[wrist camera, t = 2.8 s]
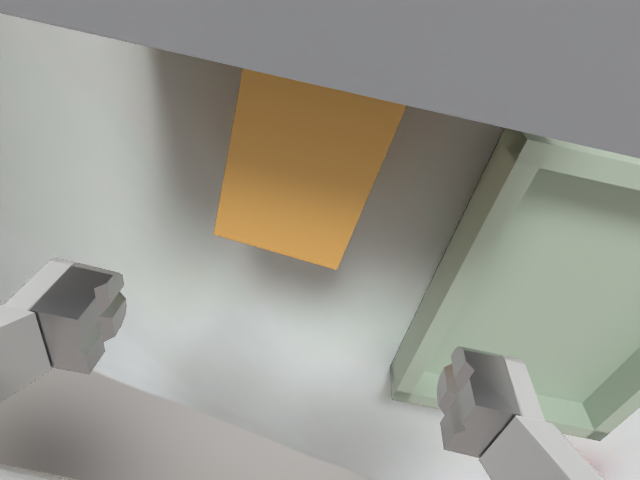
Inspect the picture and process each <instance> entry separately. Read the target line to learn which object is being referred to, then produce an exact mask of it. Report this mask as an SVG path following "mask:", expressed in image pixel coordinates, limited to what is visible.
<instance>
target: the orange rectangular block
mask: <svg viewBox="0 0 640 480" xmlns="http://www.w3.org/2000/svg"><path fill="white" fill-rule="evenodd" d="M406 107H407V105H402V104H398V103H393V102H389V101H385V100H380V99H376V98H371V97H367V96H363V95H358V94H354V93H349V92H345V91H341V90H336V89H332V88H328V87H323V86H319V85H314V84H310V83H306V82H301V81H297V80H292V79H288V78H284V77H279V76H275V75H270V74H266V73H262V72H257V71H253V70H248V69H244V68H243V70H242V75H241V81H240V87H239V93H238V98H237V104H236V110H235V115H234V121H233V127H232V132H231V138H230V144H229V149H228V155H227V161H226V167H225V172H224V178H223V184H222V189H221V195H220V201H219V206H218V212H217V218H216V224H215V229H214V235H217V236H220V237H224V238H227V239H231V240H234V241H238V242H241V243H245V244H248V245H252V246H255V247H258V248H262V249H265V250H269V251H272V252H276V253H279V254H283V255H286V256H290V257H293V258H297V259H300V260H303V261H307V262H310V263H314V264H317V265H321V266H324V267H328V268H331V269H335V270H337V268H338V266H339V264H340V261H341V259H342V257H343V254H344V252H345V250H346V247H347V245H348V243H349V240H350V238H351V236H352V233H353V231H354V229H355V226H356V224H357V222H358V219H359V217H360V215H361V212H362V210H363V208H364V205H365V203H366V200H367V198H368V196H369V193H370V191H371V189H372V186H373V184H374V182H375V179H376V177H377V175H378V172H379V170H380V168H381V165H382V163H383V161H384V158H385V156H386V154H387V151H388V149H389V147H390V144H391V142H392V140H393V137H394V135H395V133H396V130H397V128H398V126H399V123H400V121H401V118H402V116H403V114H404V111H405V109H406Z"/></svg>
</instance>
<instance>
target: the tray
mask: <svg viewBox="0 0 640 480" xmlns="http://www.w3.org/2000/svg"><path fill="white" fill-rule="evenodd" d="M458 346H461V347H466V348H471V349H475V350H480V351H485V352H490V353H495V354H498V355H504V356H509V357H514V358H519V359H521V360H522V361H523V362H524V363H525V365H526V368H527V371H528V374H529V376H530V379H531V382H532V385H533V387H534V390H535V393H536V396H537V399H538V401H539V404H540V407H541V410H542V412H543V415H544V418H545V421H546V422H549V423H552V424H553V425H554V426H555V427H556V428H557V429H558V430H559V431H560V432H561V433H562V434H567V435H572V436H577V437H582V438H587V439H592V440H597V441H601V440H602V439H603V438H604V437H605V436H607V435H608V434H609V433H610V432H611V431H612V430H614V429H615V428H616V427H617V426H618V425H619V424H621V423H622V422H623V421H624V420H625V419H626V418H628V417H629V416H630V415H631V414H632V413H633V412H635V411H636V410H637V409H638V408H639V407H640V159H639V158H635V157H631V156H626V155H622V154H617V153H613V152H609V151H604V150H600V149H596V148H591V147H587V146H582V145H578V144H574V143H569V142H565V141H560V140H556V139H552V138H547V137H543V136H538V135H534V134H530V133H525V132H521V131H516V130H512V129H508V128H504V130H503V132H502V135H501V137H500V139H499V141H498V143H497V145H496V147H495V149H494V151H493V153H492V155H491V158H490V160H489V162H488V164H487V166H486V168H485V170H484V172H483V174H482V176H481V178H480V180H479V183H478V185H477V187H476V189H475V191H474V193H473V195H472V197H471V199H470V201H469V203H468V206H467V208H466V210H465V212H464V214H463V216H462V218H461V220H460V222H459V224H458V226H457V229H456V231H455V233H454V235H453V237H452V239H451V241H450V243H449V245H448V247H447V249H446V251H445V254H444V256H443V258H442V260H441V262H440V264H439V266H438V268H437V270H436V272H435V274H434V277H433V279H432V281H431V283H430V285H429V287H428V289H427V291H426V293H425V295H424V297H423V300H422V302H421V304H420V306H419V308H418V310H417V312H416V314H415V316H414V318H413V320H412V322H411V325H410V327H409V329H408V331H407V333H406V335H405V337H404V339H403V341H402V343H401V345H400V348H399V350H398V352H397V354H396V356H395V358H394V360H393V362H392V364H391V366H390V374H391V394H392V400H397V401H402V402H407V403H412V404H417V405H422V406H427V407H432V408H437V409H440V407H439V406H438V402H437V384H438V380H439V376H440V374H441V372H442V370H443V368H444V367H446V366H448V365H450V364H452V360H451V354H452V353H453V351H454V350H455V349H456V348H457V347H458Z"/></svg>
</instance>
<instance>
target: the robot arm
mask: <svg viewBox="0 0 640 480" xmlns="http://www.w3.org/2000/svg"><path fill="white" fill-rule="evenodd" d="M123 286H124V281H123V275H122V274H120V273H118V272H114V271H110V270H106V269H102V268H97V267H93V266H89V265H85V264H81V263H75V262H71V261H67V260H63V259H59V258H55V259H53V260H50V261H49V262H48V263H47V264H45V265H44V266H43V267H42V268H41V269H40V270H39V271H38V272H37V273H36V274H35V275H34V276H33V277H32V278H31V279H30V280H29V281H28V282H27V283H26V284H25V285H24V286H23V287H22V288H21V289H20V290H19V291H18V292H16V293H15V294H14V295H13V296H12V297H11V298H10V299H9V300H8V301H7V302H6V303H5V304H4V305H0V402H2V401H3V400H5V399H6V398H8V397H10V396H11V395H13V394H14V393H16V392H17V391H19V390H20V389H22V388H24V387H25V386H27V385H28V384H30V383H32V382H33V381H35V380H36V379H38V378H39V377H41V376H43V375H44V374H46V373H47V372H49V371H50V370H51V369H52V368H57V369H63V370H68V371H74V372H80V373H85V374H90V373H91V371H92V370H93V368H94V367H95V365H96V364H97V362H98V361H99V359H100V358H101V356H102V355H103V353H104V352H105V348H104V342H105V341H107V340H109V339H111V338H112V337H114V336H115V335H116V334H117V332H118V331H119V329H120V327H121V325H122V323H123V320H124V317H125V314H126V298H125V297H124V296H123V295H122V294H121V293H120V290H121V289H122V287H123ZM451 360H452V364H450V365H448V366H446V367H444V368H443V370H442V372H441V374H440V376H439V380H438V384H437V402H438V406H439V407H440V409H441V410H442V411H443V413H444V414H445V416H444V417H443V419H442V420H441V422H440V425H441V432H442V439H443V447H444V450H448V451H452V452H457V453H461V454H465V455H469V456H473V457H477V458H480V459H479V461H480V463H481V464H482V466H483V467H484V469H485V471H486V472H487V474H488V475H489V477H490V479H491V480H605V479H604V478H603V477H602V476H601V475H600V474H599V472H598V471H597V470H596V469H595V468H594V467H593V466H592V465H591V464H590V463H589V462H588V461H587V460H586V459H585V458H584V457H583V455H582V454H581V453H580V452H579V451H578V450H577V449H576V448H575V447H574V446H573V445H572V444H571V443H570V442H569V441H568V439H567V438H566V437H565V436H564V435H563V434H562V433H561V432H560V431H559V430H558V429H557V428H556V427H555V426H554V425H553V424H552V423H549V422H546V421H545V418H544V415H543V412H542V410H541V407H540V404H539V401H538V399H537V396H536V393H535V390H534V387H533V385H532V382H531V379H530V376H529V374H528V371H527V368H526V365H525V363H524V362H523V361H522V360H521V359H519V358H514V357H509V356H504V355H498V354H495V353H490V352H485V351H480V350H475V349H471V348H466V347H461V346H458V347H457V348H456V349H455V350H454V351H453V353H452V354H451ZM51 367H52V368H51ZM0 480H78V479H73V478H68V477H63V476H59V475H54V474H49V473H44V472H39V471H34V470H29V469H25V468H20V467H15V466H10V465H5V464H1V463H0Z"/></svg>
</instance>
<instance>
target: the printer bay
mask: <svg viewBox="0 0 640 480" xmlns="http://www.w3.org/2000/svg"><path fill="white" fill-rule="evenodd" d="M0 13H2V14H7V15H11V16H16V17H20V18H24V19H29V20H33V21H38V22H42V23H46V24H51V25H55V26H60V27H64V28H68V29H73V30H77V31H81V32H86V33H90V34H95V35H99V36H103V37H108V38H112V39H117V40H121V41H125V42H130V43H134V44H139V45H143V46H147V47H152V48H156V49H161V50H165V51H169V52H174V53H178V54H183V55H187V56H191V57H196V58H200V59H204V60H209V61H213V62H218V63H222V64H226V65H231V66H235V67H240V68H244V69H248V70H253V71H257V72H262V73H266V74H270V75H275V76H279V77H284V78H288V79H292V80H297V81H301V82H306V83H310V84H314V85H319V86H323V87H328V88H332V89H336V90H341V91H345V92H349V93H354V94H358V95H363V96H367V97H371V98H376V99H380V100H385V101H389V102H393V103H398V104H402V105H407V106H411V107H415V108H420V109H424V110H429V111H433V112H437V113H442V114H446V115H451V116H455V117H459V118H464V119H468V120H473V121H477V122H481V123H486V124H490V125H494V126H499V127H503V128H508V129H512V130H516V131H521V132H525V133H530V134H534V135H538V136H543V137H547V138H552V139H556V140H560V141H565V142H569V143H574V144H578V145H582V146H587V147H591V148H596V149H600V150H604V151H609V152H613V153H617V154H622V155H626V156H631V157H635V158H639V159H640V0H0Z"/></svg>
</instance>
